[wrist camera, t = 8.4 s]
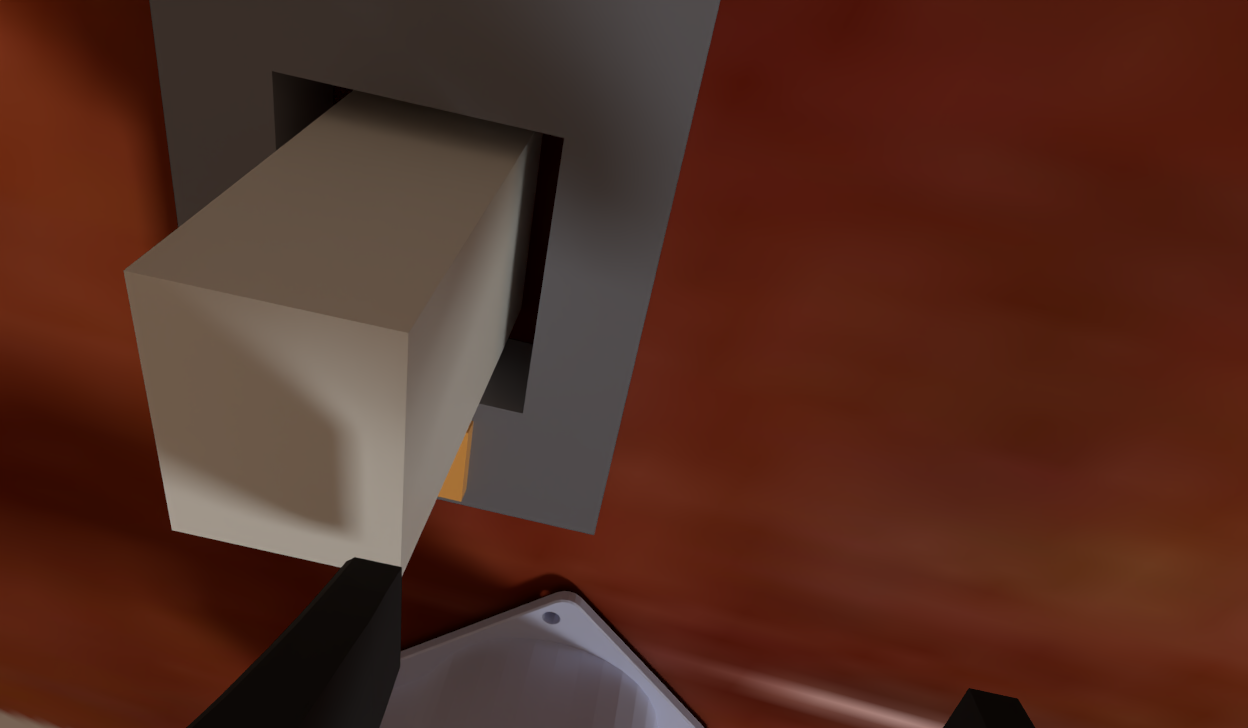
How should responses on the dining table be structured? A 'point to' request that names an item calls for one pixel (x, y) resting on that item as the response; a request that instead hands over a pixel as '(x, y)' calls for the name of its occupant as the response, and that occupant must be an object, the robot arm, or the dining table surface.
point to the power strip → (499, 92)
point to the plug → (335, 328)
